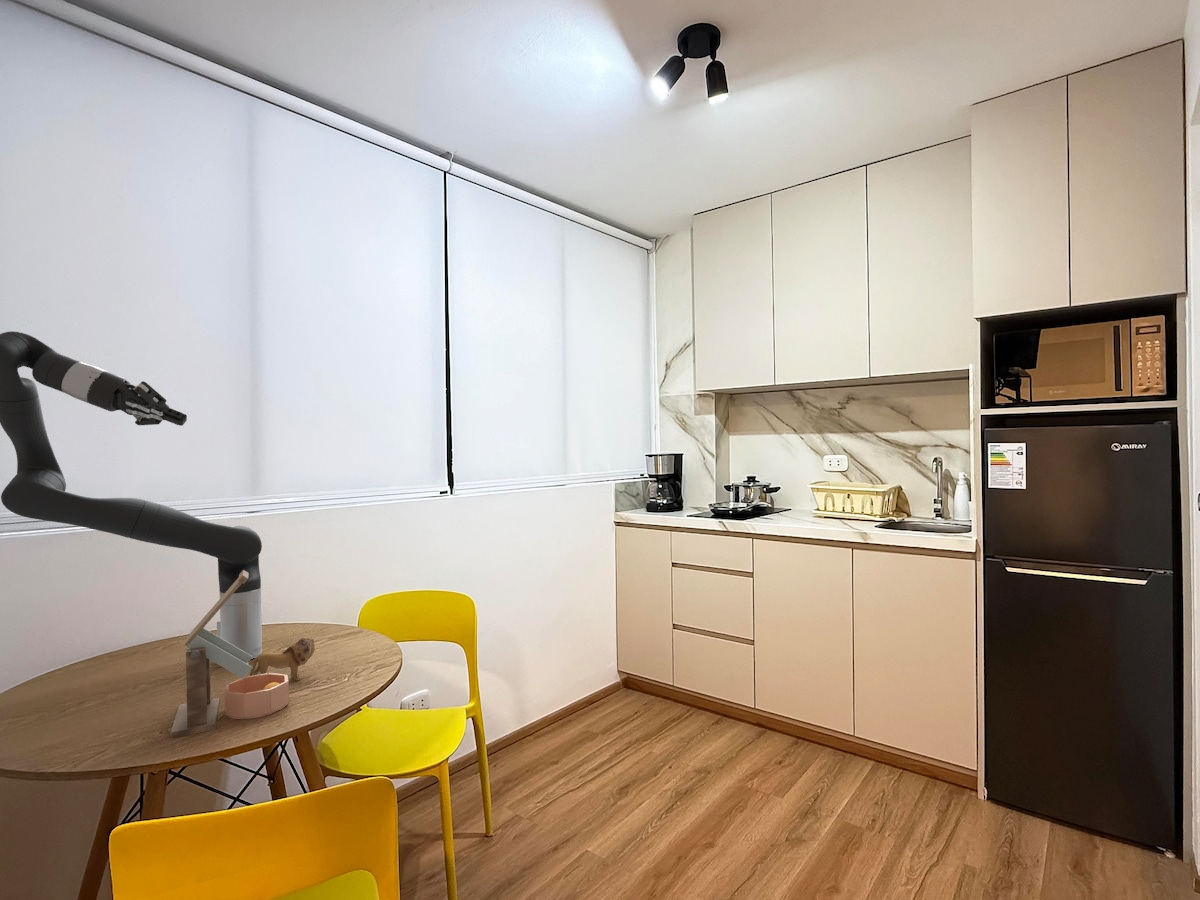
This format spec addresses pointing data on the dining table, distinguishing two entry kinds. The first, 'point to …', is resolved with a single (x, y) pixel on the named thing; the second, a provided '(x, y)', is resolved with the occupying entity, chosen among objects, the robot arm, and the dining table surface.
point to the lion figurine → (286, 658)
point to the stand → (196, 697)
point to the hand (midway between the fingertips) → (184, 420)
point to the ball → (270, 685)
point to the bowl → (256, 696)
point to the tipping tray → (217, 646)
